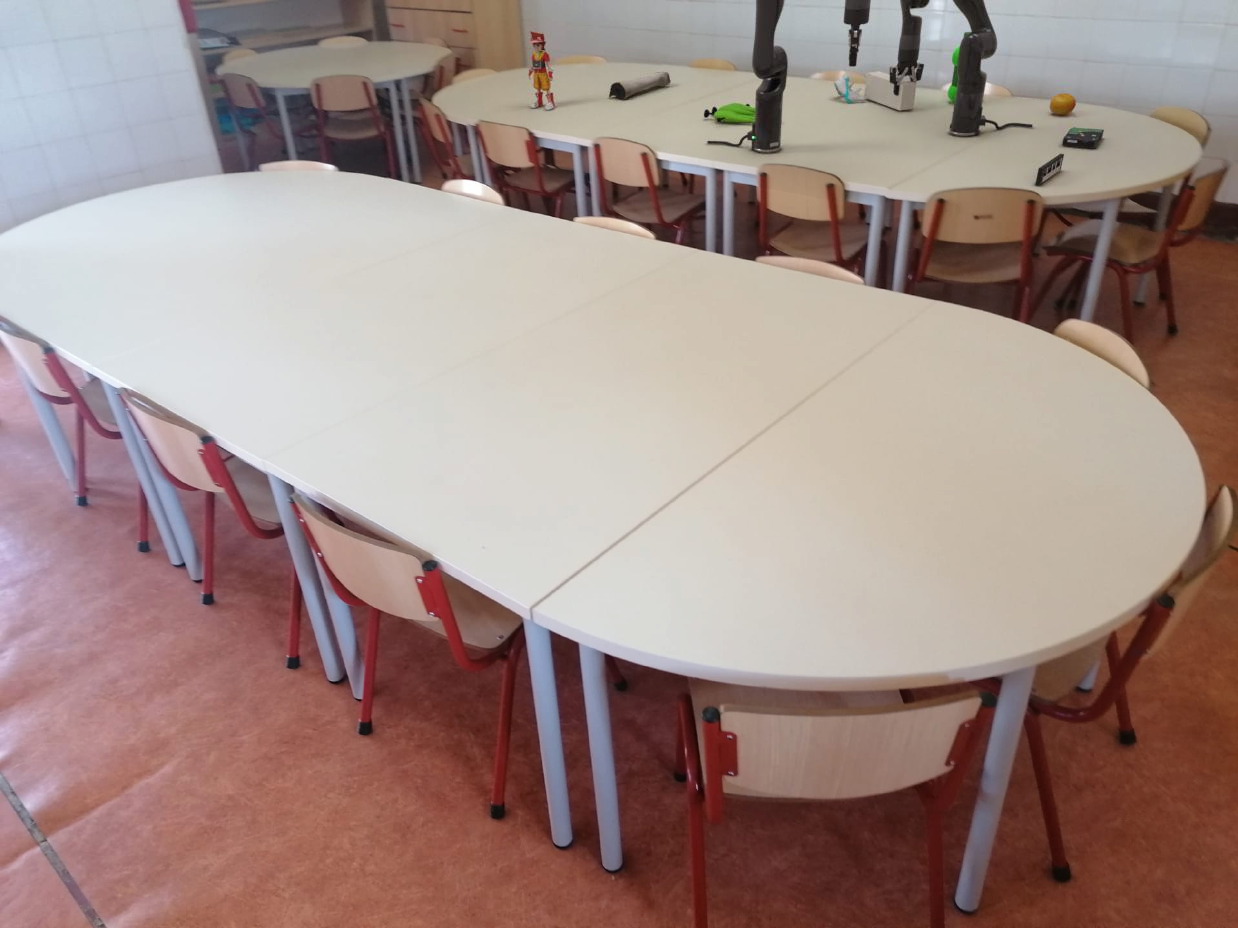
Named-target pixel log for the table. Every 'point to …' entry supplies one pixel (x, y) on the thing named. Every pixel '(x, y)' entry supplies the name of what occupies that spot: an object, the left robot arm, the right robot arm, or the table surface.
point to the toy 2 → (733, 113)
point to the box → (889, 91)
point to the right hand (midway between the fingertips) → (903, 94)
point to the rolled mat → (638, 84)
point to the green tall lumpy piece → (954, 74)
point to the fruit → (1062, 104)
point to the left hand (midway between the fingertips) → (852, 63)
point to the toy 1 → (541, 71)
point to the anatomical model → (847, 90)
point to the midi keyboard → (1049, 169)
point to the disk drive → (1083, 137)
